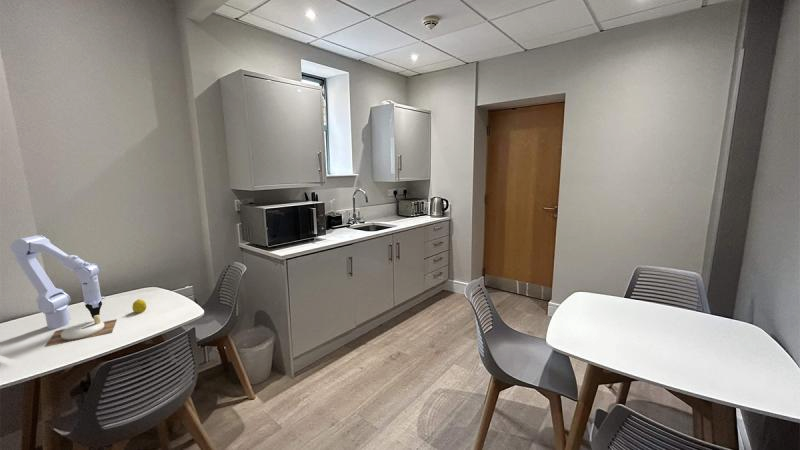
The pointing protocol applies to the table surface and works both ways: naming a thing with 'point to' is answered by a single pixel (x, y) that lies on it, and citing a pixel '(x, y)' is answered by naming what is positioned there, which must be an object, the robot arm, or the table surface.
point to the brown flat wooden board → (58, 340)
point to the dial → (83, 329)
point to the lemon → (139, 306)
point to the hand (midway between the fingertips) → (95, 317)
